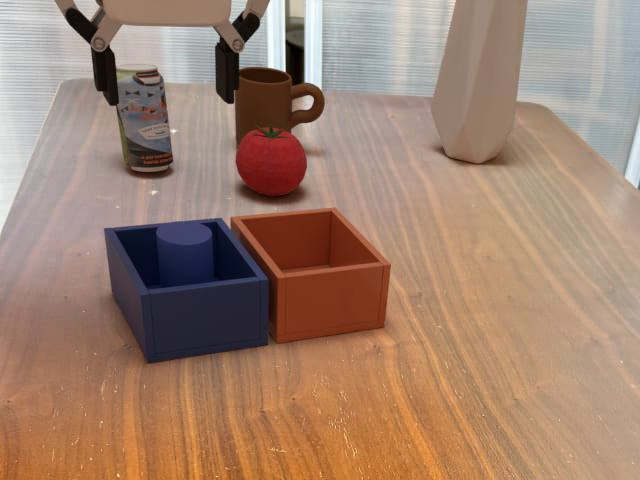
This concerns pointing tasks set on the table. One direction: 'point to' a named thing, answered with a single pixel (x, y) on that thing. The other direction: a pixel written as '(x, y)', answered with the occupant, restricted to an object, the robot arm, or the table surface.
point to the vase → (479, 78)
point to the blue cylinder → (184, 254)
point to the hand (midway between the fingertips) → (169, 99)
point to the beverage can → (143, 118)
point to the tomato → (271, 161)
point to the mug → (272, 101)
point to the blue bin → (187, 296)
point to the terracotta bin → (316, 272)
